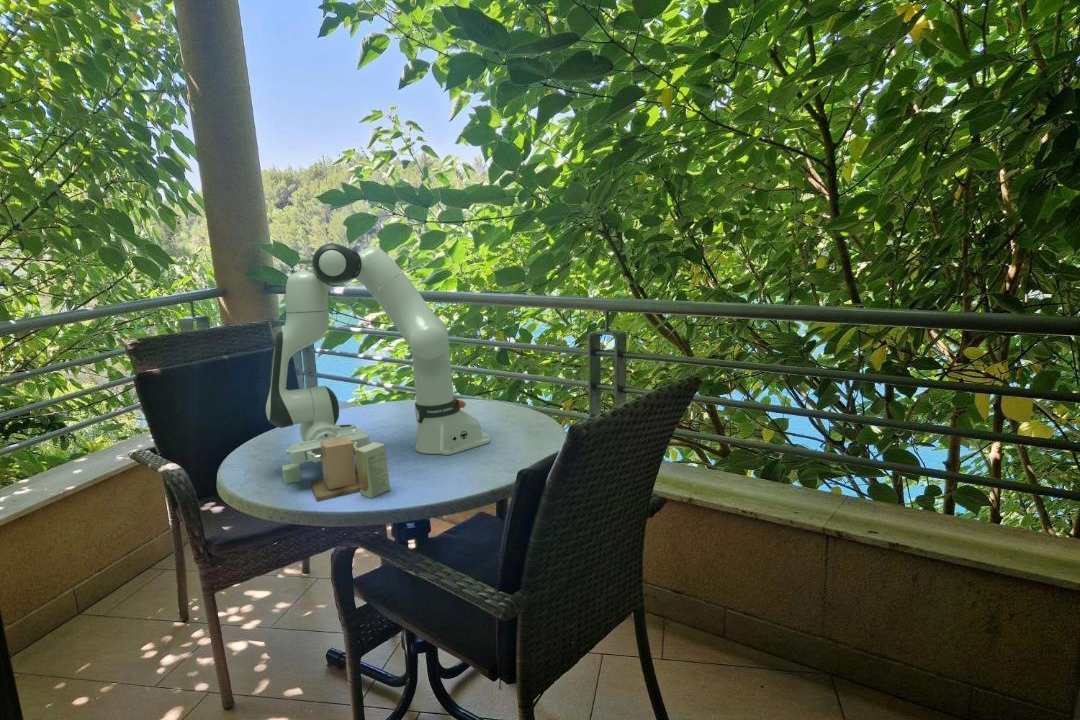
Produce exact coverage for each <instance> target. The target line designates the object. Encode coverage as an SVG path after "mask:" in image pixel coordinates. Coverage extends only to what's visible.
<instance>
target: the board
mask: <svg viewBox="0 0 1080 720" xmlns="http://www.w3.org/2000/svg"><path fill="white" fill-rule="evenodd" d="M355 478H356V484H355V485H350V486H345V487H340V488H335V489H330V490H329V488H328V487H327V486H326V484H325V483H324V479H323V478H322V479H317V480H313V481H309V486H310V489H311V488H312V489H311V490H312V494H313V495H314V497H316V498H315V500H316V502H320V501H319V500H321V501H324V499H326V500H329V498H330V499H333V498H338V497H337V496H339V497H342V495H343V496H347V495H351V494H355V493H359V492H360V484H359V477H358V470H357V471H355ZM360 493H361V492H360ZM346 494H347V495H346Z"/></svg>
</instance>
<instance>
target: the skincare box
mask: <svg viewBox="0 0 1080 720" xmlns="http://www.w3.org/2000/svg"><path fill="white" fill-rule="evenodd" d="M354 457H355V462H356V468H357V471H358V477H359V484H360V496H364V497H366V498H369V499H373V498H374V497H377V496H379V495H381V494H383V493H385V492H387V491H390V490H391V485H390V477H389V469H388V461H387V453H386V447H385V444H383V443H380V442H376V441H374V442H370V444H367V445H365V446H362V447H359V448H357V449H355V454H354Z"/></svg>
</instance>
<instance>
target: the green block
mask: <svg viewBox="0 0 1080 720" xmlns="http://www.w3.org/2000/svg"><path fill="white" fill-rule="evenodd" d="M281 471H282V478H283V479H282V480H283V482H284V484H286V485H288V484H287V483H290V484H293V483H292V482H294V483H297V481H298V482H302V481H301V480H302V471H301V466H300V464H292V463H289V464H285V465H282V466H281Z"/></svg>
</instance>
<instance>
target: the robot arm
mask: <svg viewBox="0 0 1080 720" xmlns="http://www.w3.org/2000/svg"><path fill="white" fill-rule="evenodd" d="M311 261H312V262H311V264H312V267H311V268H310V269H307V270H299V271H295V272H293V273H292V274H290V275H289V276H288V278H287V280H286V286H285V300H284V301H285V317H286V318H285V324H284V326H283V327H282V330H281V331H279V332H277V333H276V335H275V338H274V341H273V349H272V356H271V363H270V364H271V367H270V377H269V388H268V396H267V401H266V403H265V404H266V405H265V414H266V417H267V420H268V422H269V423H270V424H272V425H273V426H275V427H276V428H279V429H283V428H287V427H293V426H294V425H300V426H299V435H300V439H301V440H302V441H300V442H296V443H295V442H294V443H293V444H290V445H289V447H288V448H286V449H285V454H286V455H288V456H289V458H290V462H291V463H290V464H298V465H301V464H303V463H308V462H314V463H320V462H321V463H322V455H321V443H320V441H323V440H329V439H335V438H341V437H347V438H348V439H349V440H350V441H351V442H352V443H353V451H354V455H355V449H357V448H359V447H362V446H365V445H367V444H370V443H371V441H370V437H369V434H368V433H367V432H366V431H364V430H362V428H358V427H357V425H355V424H352V423H351V424H337V423H338V420H339V418H340V405H339V401H338V397H337V395H336V393H335V392H333V390H332V389H331V388H329V387H328V386H326V385H323V386H312V387H307V388H305V387H304V388H298V389H297V388H296V389H287V379H288V371H289V370H288V369H289V368H288V367H289V363H290V360H291V358H292V357H293V356H294V354H296V353H297V352H299V351H301V350H303V349H305V348H308V347H310V346H311V345H313V344H316V343H317V342H319V341H320V340H321V339H322V338H323V337H325V335H326V334H327V333H328V330H329V326H330V314H329V313H330V311H329V304H328V303H329V301H328V299H329V298H328V295H329V294H328V293H329V291H330V289H332V288H334V287H338V286H340V285H344V284H346V283H347V282H349V281H350V280H356V281H358V282H359V283H361V284H362V285H363V287H364V288H365V289H366V290H367V291H368V293H370V295H371V296H372V297H373V298H374V300H375V301H376V302H377V304H378V305H379V307H380V308H381V309H382V310H383V312H384V313H385V314H386V316H387V317H388V318H389V320H390V321H391V322H392V324H393V325H394V327H395V328H396V329H397V331H398V332H399V334H400V336H401V337H402V338H403V340H404V341H405V342H406V344H407V346H408V347H409V348H410V349H411V354H412V366H413V381H414V383H413V384H414V392H415V402H414V407H415V408H414V411H415V412H414V414H415V420H416V422H417V427H416V428H417V431H416V442H415V446H414V449H415V451H416V452H418V453H421V454H428V455H436V454H437V455H445V456H448V455H449V456H450V455H453V454H456V453H460V452H463V451H467V450H469V449H473V448H476V447H480V446H483V445H486V444H489V443H490V442H491V438H490V436H489V434H488V433H486V432H485V431H483V430H482V427H481V424H480V422H479V421H478V420H477V418H475V417H474V416H472V414H471V415H470V414H469V413H467V412H465V411H464V410H462V409H464V408H466V405H467V404H466V402H465V401H463V400H459V399H458V398H455V397H454V389H453V375H452V366H451V353H450V342H449V332H448V327H447V326H446V323H445V322H444V321H443V320H442V319H441V318H439V317H437V316H436V315H435V313H434V312H433V310H432V309H431V307H429V305H428V303H427V302H426V300H425V299H424V298H423V296H422V295H421V293H420V292H419V291H418V290H417V288H416V287H415V285H414V284H413V283H412V281H410V278H408V276H407V275H406V274H405V273H404V271H403V270H402V269H401V268H400V266H399V265H398V263H396V262H395V260H394V259H392V257H390V255H389V254H388V253H386V252H385V251H384V250H383V249H382V248H381V247H379V246H368V247H366V248H363V249H362V250H361V251H359V252H358V251H356V250H353V249H351V248H349V247H346V246H344V245H342V244H339V243H335V242H333V243H326V244H323V245H321V246H320V247H318V249H316V250H315V252H314V254H313V256H312V260H311Z"/></svg>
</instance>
